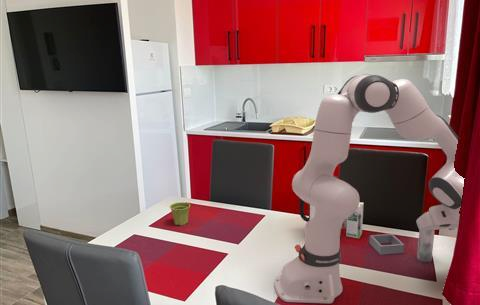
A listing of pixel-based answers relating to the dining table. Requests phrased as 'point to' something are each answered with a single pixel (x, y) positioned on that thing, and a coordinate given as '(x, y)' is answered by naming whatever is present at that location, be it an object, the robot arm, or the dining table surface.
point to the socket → (386, 249)
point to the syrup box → (355, 223)
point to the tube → (425, 246)
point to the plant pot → (180, 212)
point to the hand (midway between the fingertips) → (437, 229)
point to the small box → (344, 224)
